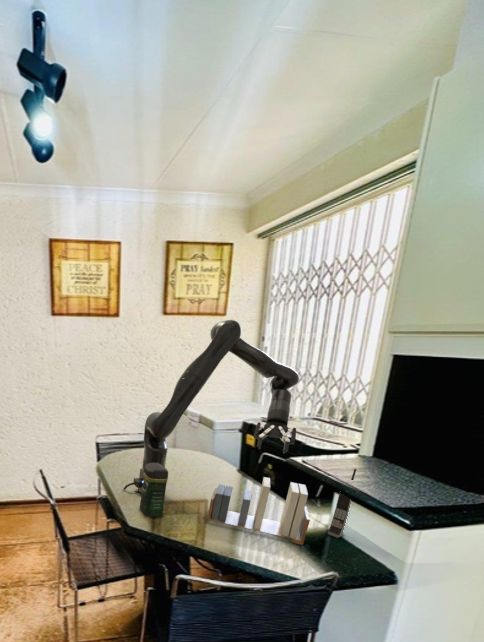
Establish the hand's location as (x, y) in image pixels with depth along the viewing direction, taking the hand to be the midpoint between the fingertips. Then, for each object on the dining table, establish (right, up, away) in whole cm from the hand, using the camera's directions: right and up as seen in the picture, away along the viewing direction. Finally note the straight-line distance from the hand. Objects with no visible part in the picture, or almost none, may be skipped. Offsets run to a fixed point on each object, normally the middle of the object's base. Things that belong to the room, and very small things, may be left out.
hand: (272, 450), depth 142 cm
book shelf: (-7, -28, -2) cm, 29 cm away
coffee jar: (-44, -23, +2) cm, 50 cm away
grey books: (-15, -24, +1) cm, 29 cm away
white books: (+3, -28, -6) cm, 29 cm away
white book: (-6, -26, -2) cm, 27 cm away
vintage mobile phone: (+22, -31, -2) cm, 38 cm away
